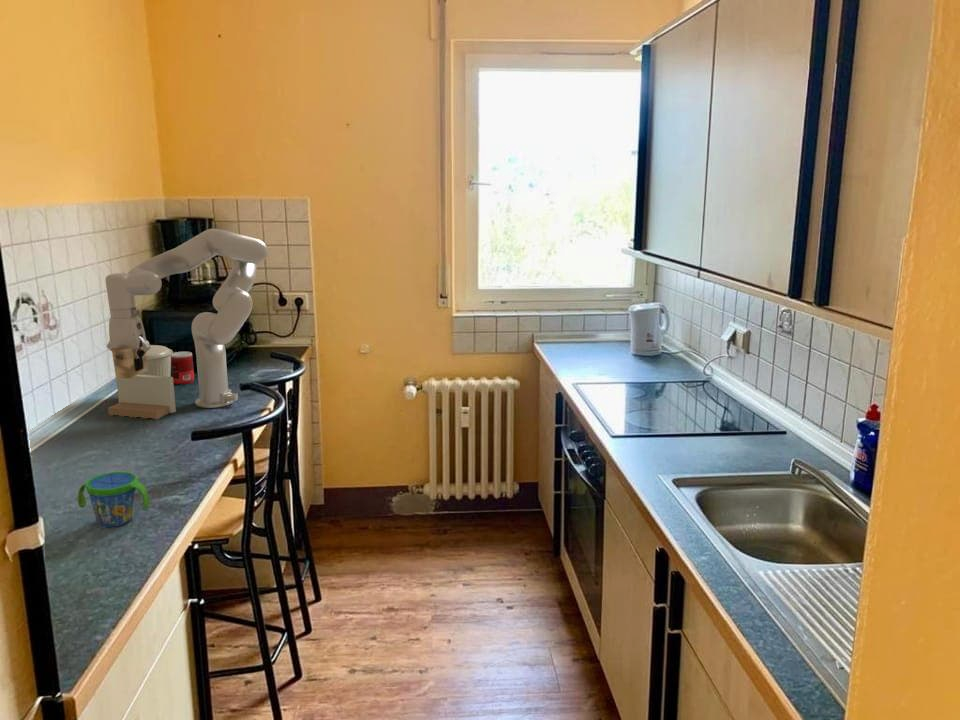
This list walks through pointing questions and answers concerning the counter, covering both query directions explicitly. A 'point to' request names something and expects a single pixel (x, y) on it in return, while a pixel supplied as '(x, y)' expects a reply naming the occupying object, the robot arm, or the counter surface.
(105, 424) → the counter surface
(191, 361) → the canned food
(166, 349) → the canister
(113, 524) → the snack cup
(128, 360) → the oak box
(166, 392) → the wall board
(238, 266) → the robot arm
